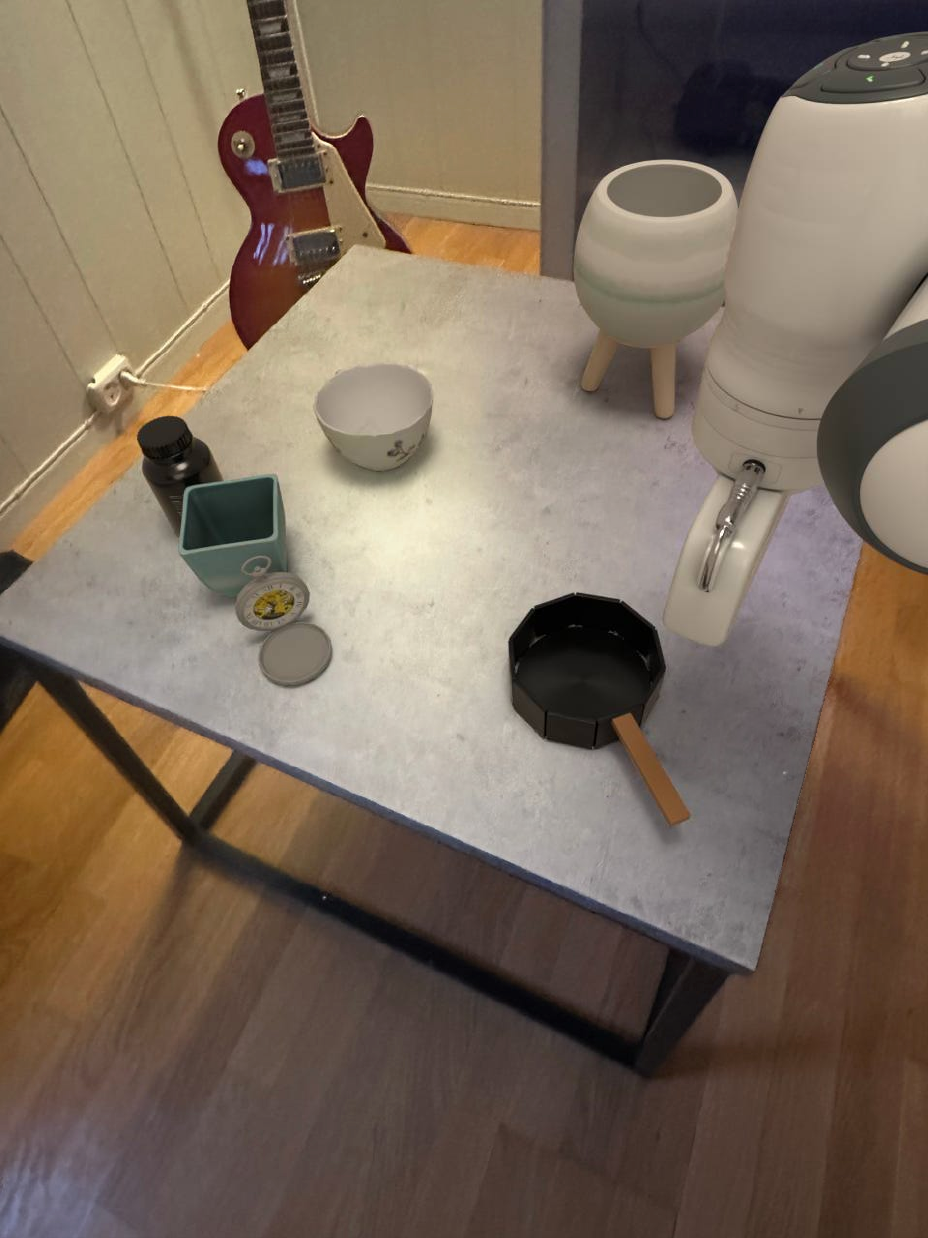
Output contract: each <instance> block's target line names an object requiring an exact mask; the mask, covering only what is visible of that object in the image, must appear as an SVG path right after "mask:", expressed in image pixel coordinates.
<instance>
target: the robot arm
mask: <svg viewBox="0 0 928 1238" xmlns="http://www.w3.org/2000/svg"><path fill="white" fill-rule="evenodd" d="M723 286H724V294H725V301H724V309H723V313H722V316H721V319H720V321H719V322H718V324H717V326H716V327H715V329H714V331H713V333H712V335H711V338H710V340H709V342H708V346H707V350H706V354H705V358H704V365H703V369H702V374H701V377H700V382H699V383H700V384H699V387H698V392H697V397H696V402H695V407H694V412H693V416H692V421H691V436H692V440H693V443H694V446H695V447H696V449H697V450H698V452H699V454H700V455H701V457H702V458H703V459H705V461H706V462H707V463H708V464H709V465H711V467H712V469H713V470H714V471H715V473H716V474H717V477H716V478H715V480H714V482H713V484H712V486H711V488H710V490H709V491H708V493H707V495H706V497H705V499H704V501H703V503H702V504H701V506H700V509H699V510H698V512H697V514H696V515H695V517H694V520H693V522H692V523H691V525H690V527H689V530H688V533H687V535H686V537H685V539H684V542H683V545H682V548H681V551H680V554H679V556H678V560H677V563H676V566H675V570H674V573H673V576H672V580H671V583H670V587H669V591H668V595H667V598H666V602H665V604H664V605H665V606H664V609H663V613H662V624H663V627H664V628H666V630H668V631H669V632H671V633H673V634H675V635H677V636H679V637H682V638H684V639H687V640H689V641H692V642H695V643H697V644H700V645H704V646H707V647H708V646H709V647H719V646H721V645H723V644H724V643H725V642H726V640H727V639H728V637H729V636H730V633H731V631H732V630H733V629H732V628H733V627H734V624H735V623H736V620H737V618H738V615H739V613H740V612H741V609H742V607H743V604H744V601H745V600H746V598H747V595H748V593H749V591H750V589H751V587H752V585H753V582H754V580H755V578H756V575H757V573H758V571H759V569H760V567H761V565H762V562H763V559H764V557H765V555H766V554H767V551H768V548H769V546H770V544H771V542H772V540H773V537H774V535H775V533H776V530H777V529H778V527H779V524H780V521H781V520H782V517H783V515H784V514H785V510H786V508H787V506H788V504H789V501H790V499H791V497H792V496H795V495H798V494H802V493H804V492H806V491H808V490H810V489H814V488H817V487H820V486H824V485H825V488H826V491H827V492H828V494H829V496H830V498H831V500H832V502H833V504H834V506H835V507H836V509H837V511H838V512H839V514H840V516H841V517H842V518H843V519H844V521H845V522H846V523H847V524H848V526H849V527H850V528H851V530H852V531H853V532H854V533H855V534H856V535H857V536H858V537H859V538H860V539H861V540H863V541H864V542H865V543H866V544H867V545H869V546H870V547H871V548H872V549H874V550H875V551H876V552H878V553H879V554H881V555H882V556H884V557H886V558H887V559H888V560H890V561H892V562H894V563H896V564H898V565H899V566H902V567H904V568H907V569H908V570H910V571H913V572H917V573H919V574H922V575H925V576H928V31H916V32H908V33H901V34H895V35H889V36H884V37H880V38H875V39H872V40H869V41H868V42H865V43H861V44H858V45H855V46H851V47H847V48H844V49H842V50H840V51H838V52H836V53H834V54H832V55H830V56H829V57H827V58H826V59H824V60H822V61H821V62H819V63H818V64H817V65H815V66H814V67H812V68H811V69H809V70H808V71H807V72H806V73H804V74H803V75H801V76H800V77H799V78H798V79H797V80H796V81H795V82H794V83H793V84H792V85H791V86H790V87H789V88H788V89H787V90H785V92H784V93H783V94H782V95H781V96H780V97H779V99H778V100H777V102H776V103H775V105H774V107H773V108H772V111H771V112H770V115H769V116H768V119H767V121H766V123H765V125H764V128H763V130H762V132H761V135H760V137H759V140H758V143H757V146H756V149H755V152H754V155H753V158H752V160H751V164H750V166H749V170H748V174H747V177H746V180H745V184H744V186H743V189H742V194H741V198H740V201H739V205H738V212H737V216H736V220H735V224H734V228H733V233H732V237H731V241H730V245H729V249H728V254H727V258H726V263H725V268H724V275H723Z"/></svg>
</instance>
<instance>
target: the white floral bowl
mask: <svg viewBox="0 0 928 1238" xmlns="http://www.w3.org/2000/svg"><path fill="white" fill-rule="evenodd" d="M334 373H335V374H334V375H333V376H332V377H331V378H330V379H328V380H326V381H325V383H324V384H323V386H322V387H321V388H320V389H319V390H318V391H317V392H316V394H315V397H314V401H313V402H314V403H313V406H312V408H313V412H314V416H315V417H316V420H317V422H318V424H319V428H321V430H322V432H323V434H324V435H325V437H326V439H327V440H328V442H329V443H330V444H331V445H332V447H333V448H334V449H335V450H336V451H337V452H338V453H339V454H340V455H341V456H342V457H344V458H345V459H347V460H348V461H350V462H351V463H354V464H355V465H358V466H360V467H363V468H365V469H367V470H370V471H373V472H386V471H391V470H394V469H397V468H398V467H400V466H401V465H402V464H404V463H406V462H407V461H408V460H409V458H411V457H412V456H413V455H414V454H415V452H416V451H418V449H419V447H421V445H422V443H423V442H424V440H425V438H426V436H427V433H428V430H429V427H430V424H431V419H432V415H433V404H434V391H433V387H432V383H431V381H430V380H429V378H427V376H426V375H425V374H424V373H423V372H420V371H419V370H418V369H415V368H413V367H412V366H409V365H407V364H403V363H398V362H394V361H391V362H390V361H389V362H388V361H387V362H386V361H385V362H384V361H383V362H382V361H381V362H380V361H379V362H378V361H377V362H376V361H375V362H373V363H371V364H368V365H365V364H362V365H361V364H360V365H359V364H358V365H355V366H350V367H348V368H346V369H338V370H336V371H335V372H334Z"/></svg>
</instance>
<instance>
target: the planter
mask: <svg viewBox="0 0 928 1238" xmlns="http://www.w3.org/2000/svg"><path fill="white" fill-rule="evenodd" d="M738 209H739V205H738V201H737V197H736V193H735V191H734V188H733V186H732V184H731V181H729V179H728V178H727V177H726V176H725V175H723V174H722V173H721V172H719V171H718V170H716V169H714V168H712V167H709V166H706V165H704V164H701V163H697V162H692V161H687V160H680V159H651V160H643V161H639V162H634V163H630V164H627V165H623V166H621V167H618V168H617V169H615V170H613V171H611V172H609V173H608V174H607V175H605V176H604V177H603V178H602V179H601V180H600V181H599V183H598V184H597V186H596V187H595V189H594V191H593V193H592V194H591V197H590V199H589V200H588V202H587V205H586V207H585V210H584V212H583V215H582V218H581V221H580V224H579V227H578V228H579V229H578V231H577V236H576V241H575V246H574V254H573V280H574V287H575V291H576V294H577V298H578V301H579V302H580V305H581V307H582V309H583V310H584V312H585V313H586V315H587V317H588V318H589V319H590V321H592V322H593V323H594V325H595V326H596V327H598V329H599V330H598V333H597V337H596V338H595V342H594V345H593V348H592V351H591V354H590V356H589V359H588V361H587V364H586V366H585V369H584V373H583V375H582V378H581V382H580V385H581V388H582V389H583V390H584V391H587V392H594V391H596V390H597V389H598V388H599V386H600V384H601V382H602V379H603V378H604V376H605V373H606V372H607V370H608V368H609V365H610V364H611V361H612V359H613V357H614V355H615V352H616V351H617V348H618V345H619V344H621V345H624V346H627V347H628V346H629V347H631V348H637V349H639V348H640V349H650V359H651V377H652V391H653V392H652V393H653V406H654V414H655V415H656V416H657V417H658V418H661V419H668V418H670V417H671V416H673V414H674V413H675V402H676V401H675V400H676V399H675V398H676V397H675V395H676V393H675V392H676V354H677V353H676V351H677V343H679V342H681V341H683V340H684V339H685V338H687V337H688V336H690V335H692V334H693V333H695V332H697V331H698V330H699V329H701V328H702V327H703V326H705V325H706V324H707V323H708V322H709V321H710V320H711V319H712V318H713V317H714V316H716V314H717V313H718V311H720V309H721V307H722V306H723V304H725V294H724V286H723V275H724V268H725V263H726V258H727V254H728V249H729V245H730V241H731V237H732V233H733V228H734V224H735V220H736V216H737V212H738Z"/></svg>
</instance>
